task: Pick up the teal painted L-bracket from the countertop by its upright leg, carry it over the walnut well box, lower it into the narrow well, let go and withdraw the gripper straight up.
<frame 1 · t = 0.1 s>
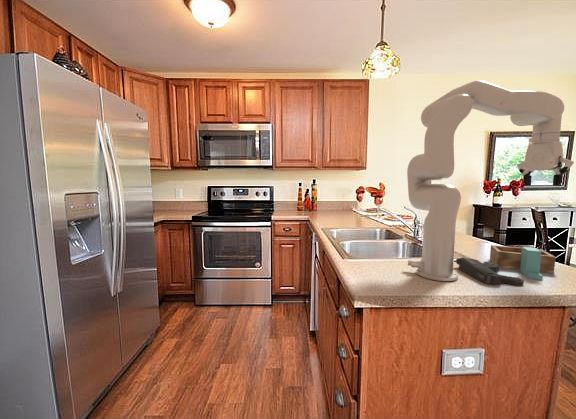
hand: (541, 185, 101), 31 cm above the countertop, tool pointing down, fingers open, 9 cm apart
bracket: (529, 273, 95), on the countertop
well: (519, 265, 105), on the countertop
toy gun: (487, 277, 94), on the countertop
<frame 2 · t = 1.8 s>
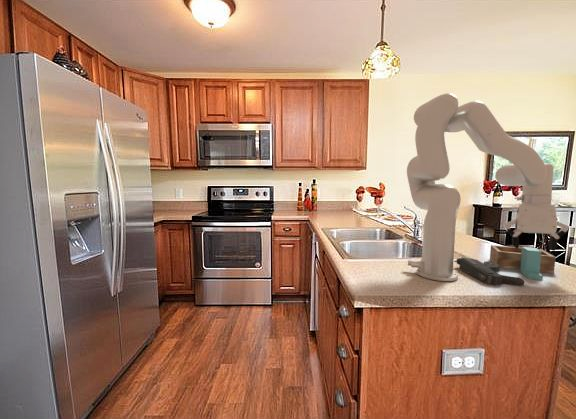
hand: (533, 248, 94), 9 cm above the countertop, tool pointing down, fingers open, 9 cm apart
nothing on the countertop moved.
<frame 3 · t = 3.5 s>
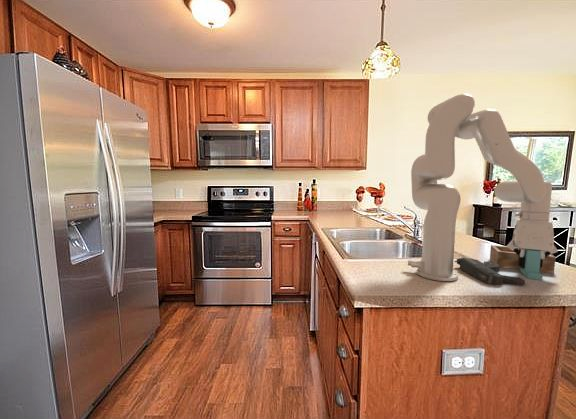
hand: (529, 267, 95), 2 cm above the countertop, tool pointing down, fingers closed on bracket, 3 cm apart
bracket: (529, 273, 95), on the countertop, touching gripper
everything else where it was.
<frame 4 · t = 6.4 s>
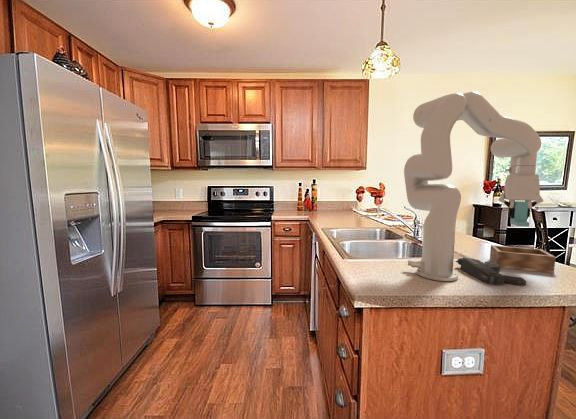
hand: (518, 217, 105), 19 cm above the countertop, tool pointing down, fingers closed on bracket, 3 cm apart
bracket: (517, 224, 105), point 16 cm above the countertop, touching gripper
everything else where it was.
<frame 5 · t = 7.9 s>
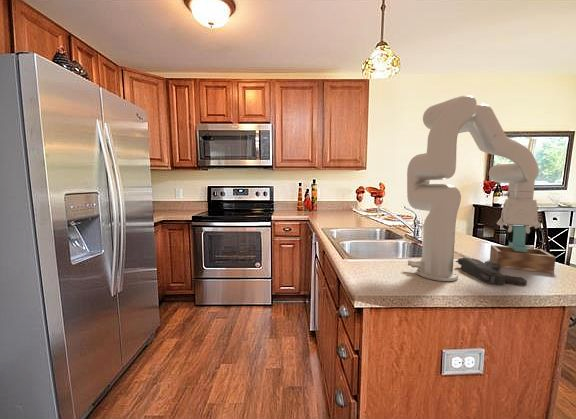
hand: (516, 241, 106), 9 cm above the countertop, tool pointing down, fingers closed on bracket, 3 cm apart
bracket: (516, 248, 106), point 6 cm above the countertop, touching gripper
everything else where it was.
when the fingers open (5 cm above the countertop, at t = 9.4 s): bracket drops 1 cm, resting on well.
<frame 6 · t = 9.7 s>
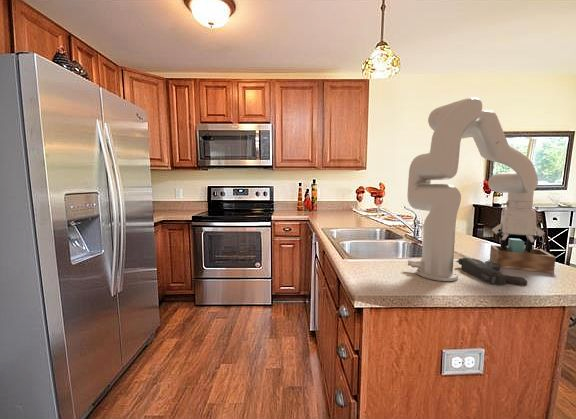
hand: (515, 250, 106), 6 cm above the countertop, tool pointing down, fingers open, 6 cm apart
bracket: (514, 262, 107), point 1 cm above the countertop, touching well
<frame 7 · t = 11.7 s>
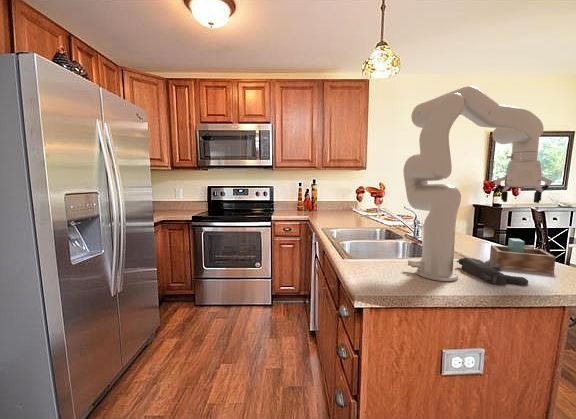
hand: (520, 202, 104), 25 cm above the countertop, tool pointing down, fingers open, 9 cm apart
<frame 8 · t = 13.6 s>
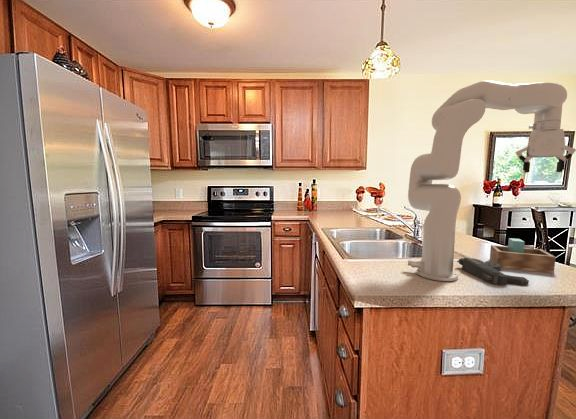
hand: (542, 172, 105), 36 cm above the countertop, tool pointing down, fingers open, 9 cm apart
at the end: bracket inside the target area on the well (1.5 cm from its centre), point 0.8 cm above the well's base; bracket tilted 0°; the gripper is holding nothing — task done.
